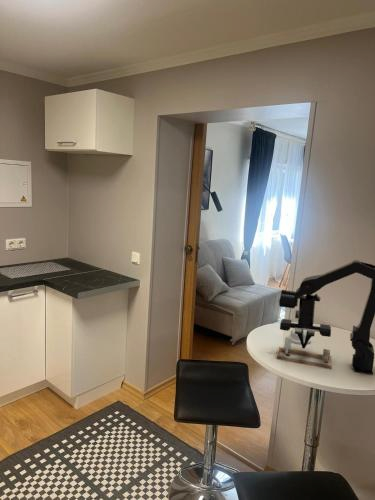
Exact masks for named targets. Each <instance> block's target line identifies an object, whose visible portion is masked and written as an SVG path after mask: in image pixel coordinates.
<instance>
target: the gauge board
mask: <svg viewBox="0 0 375 500" xmlns="http://www.w3.org/2000/svg"><path fill="white" fill-rule="evenodd" d="M276 360H280V361H287V362H292V363H297V364H303V365H307V366H313V367H318V368H323V369H329V370H332V368H333V366H332V365H333V363H332V361H333V360H332V356H331V349H327V348H323V351H322V354H321V353H314V352H309V351H304V350H298V349H293V348H291V351H290V352H288V354H287V355H286V354H285V351H284V347H282V346H279V348H278V349H277V354H276Z"/></svg>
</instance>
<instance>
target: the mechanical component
mask: <svg viewBox="0 0 375 500" xmlns="http://www.w3.org/2000/svg"><path fill="white" fill-rule="evenodd" d="M306 333H307V330H303V336H304V342H305V337H306ZM287 337H289V338H292V342H291V344H292V343H293V344H295V345H301V342H300V339H299V337H298V335H297V334H295V328H292V329H290V333H289V334H287ZM311 343H312V337H311V338H310V339H309V341H308V343H307V345H309V344H311Z"/></svg>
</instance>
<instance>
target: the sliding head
mask: <svg viewBox="0 0 375 500" xmlns="http://www.w3.org/2000/svg"><path fill="white" fill-rule="evenodd" d="M283 348H284V351H285V354H286V355H287V354H288V352H290V351H291V349H292V338H289V337H288V336H285V338H284V346H283Z"/></svg>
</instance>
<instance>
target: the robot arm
mask: <svg viewBox="0 0 375 500" xmlns="http://www.w3.org/2000/svg"><path fill="white" fill-rule="evenodd" d="M353 274H360V276H361V275H362V276H364V277H366V278H368V279H370V288H369V292H368V295H367V299H366V301H365V304H364V308H363V311H362V315H361V316H360V317H361V318H360V321H359V323H358V325H357V326H356V325H353V326H352V331H351V333H350V334H349V336H350V337H349V341H350V342H351V347H352V348H353V350H354V353H352V360H351V367H352V369H353V371H354V372H358V373H364V374H368V375H373V374H374V371H373V369H374V363H375V362H374V361H375V350H374V345H373V344H372V343H371V341H370V338H371V328H372V325H373V321H374V318H375V264H371V263H369V262H368V263H367V262H363V261H361V260H359V259H358V260H356V259H354V260H353V261H350V262H349V263H347V264H344V265H342V266H339V267H337V268H334V269H332V270H329V271H328V272H325V273H323V274H317V275H311V276H307V277H305V278H303V279H302V281H301V283H300V285H299V287H298V288H297V289H296V291H293V290H287V289H281V291H280V298H279V300H278V306H279V307H280V308H287V309H294V310H295V308H296V307H298V310H297V309H296V310H295V315H294V316H295V317H294V318H295V319H297V323H295V322H292V321H293V320H292V319H285V318H282V319H281V321H280V323H279V330H280V331H288V332H289V331H291V328H292V329H295V334H297V335H298V337H299V339H300V342H301V344H300V345H301V348H302V349H306V347H307V345H308V344H307V343H308V341H309V339H310V338H311V339H312V337H313V338H314V337H315V334H316V333H315V332H319V334H320V335H321V337H331V335H332V326H331V325H330V324H323V323H320V324H319V326H316V325H314V322H315V321H314V319H315V309H316V307H315V305H316V302H320V301H321V299H322V298H321V297H320V296H319V295H318V293H317V292H318V291H320V290H321V289H322V288H324V287H325V286H326V285H327V286H328V285H329V284H332V283H335V282H337V281H339V280H341V279H344V278H347V277H349V276H351V275H353ZM303 330H306V331H307V333H306V337H305V342H304V336H303Z"/></svg>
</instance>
